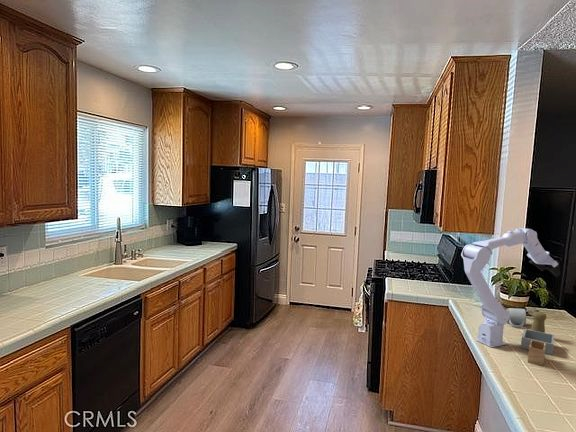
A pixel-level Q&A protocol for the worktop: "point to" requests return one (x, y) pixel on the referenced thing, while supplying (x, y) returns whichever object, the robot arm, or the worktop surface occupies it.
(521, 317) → the ceramic mug
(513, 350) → the worktop surface
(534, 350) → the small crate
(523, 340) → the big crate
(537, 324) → the cork
